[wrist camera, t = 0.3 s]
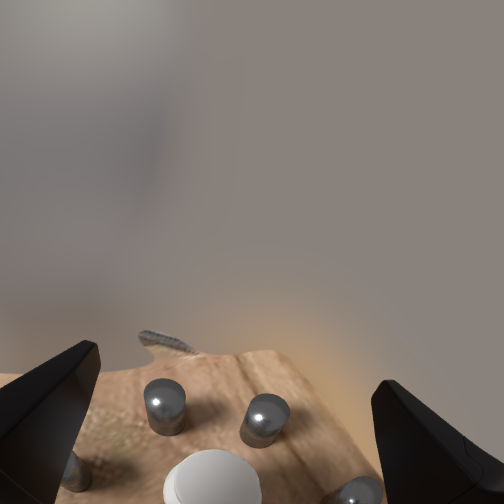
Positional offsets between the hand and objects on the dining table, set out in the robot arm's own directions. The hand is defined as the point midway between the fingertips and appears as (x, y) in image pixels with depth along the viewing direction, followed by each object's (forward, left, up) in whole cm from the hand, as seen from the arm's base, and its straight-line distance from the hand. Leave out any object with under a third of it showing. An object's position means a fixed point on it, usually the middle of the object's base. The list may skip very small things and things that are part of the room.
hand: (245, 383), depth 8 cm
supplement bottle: (-1, 0, -17) cm, 17 cm away
